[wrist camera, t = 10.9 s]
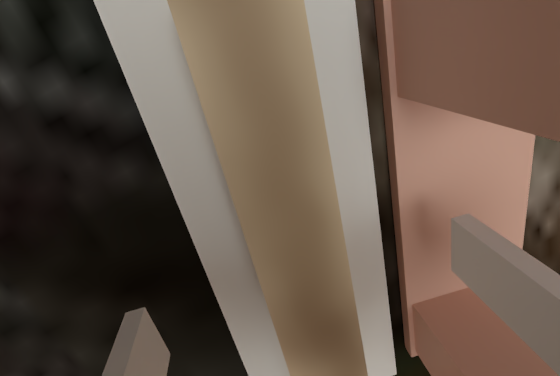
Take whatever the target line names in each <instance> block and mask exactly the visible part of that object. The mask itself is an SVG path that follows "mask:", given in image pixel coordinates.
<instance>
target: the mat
mask: <svg viewBox="0 0 560 376" xmlns="http://www.w3.org/2000/svg"><path fill="white" fill-rule="evenodd" d="M93 1H94V3H95V5H96V8H97V10H98V13H99V15H100V18H101V20H102V22H103V25H104V27H105V30H106V32H107V35H108V37H109V39H110V42H111V44H112V47H113V49H114V51H115V54H116V56H117V59H118V61H119V64H120V66H121V68H122V71H123V73H124V76H125V78H126V81H127V83H128V85H129V88H130V90H131V93H132V95H133V97H134V100H135V102H136V105H137V107H138V110H139V112H140V114H141V117H142V119H143V122H144V124H145V126H146V129H147V131H148V134H149V136H150V139H151V141H152V143H153V146H154V148H155V151H156V153H157V156H158V158H159V160H160V163H161V165H162V168H163V170H164V172H165V175H166V177H167V180H168V182H169V185H170V187H171V189H172V192H173V194H174V197H175V199H176V202H177V204H178V206H179V209H180V211H181V214H182V216H183V218H184V221H185V223H186V226H187V228H188V231H189V233H190V235H191V238H192V240H193V243H194V245H195V247H196V250H197V252H198V255H199V257H200V260H201V262H202V264H203V267H204V269H205V272H206V274H207V277H208V279H209V281H210V284H211V286H212V289H213V291H214V293H215V296H216V298H217V301H218V303H219V306H220V308H221V310H222V313H223V315H224V318H225V320H226V323H227V325H228V327H229V330H230V332H231V335H232V337H233V339H234V342H235V344H236V347H237V349H238V352H239V354H240V356H241V359H242V361H243V364H244V366H245V368H246V371H247V373H248V376H290V373H289V370H288V367H287V364H286V361H285V358H284V355H283V352H282V349H281V346H280V343H279V340H278V337H277V334H276V331H275V328H274V325H273V322H272V319H271V316H270V313H269V310H268V307H267V303H266V300H265V297H264V294H263V291H262V288H261V285H260V282H259V279H258V276H257V273H256V270H255V267H254V264H253V261H252V258H251V255H250V252H249V249H248V246H247V243H246V240H245V236H244V233H243V230H242V227H241V224H240V221H239V218H238V215H237V212H236V209H235V206H234V203H233V200H232V197H231V194H230V191H229V188H228V185H227V182H226V179H225V176H224V173H223V169H222V166H221V163H220V160H219V157H218V154H217V151H216V148H215V145H214V142H213V139H212V136H211V133H210V130H209V127H208V124H207V121H206V118H205V115H204V112H203V109H202V106H201V102H200V99H199V96H198V93H197V90H196V87H195V84H194V81H193V78H192V75H191V72H190V69H189V66H188V63H187V60H186V57H185V54H184V51H183V48H182V45H181V42H180V39H179V36H178V32H177V29H176V26H175V23H174V20H173V17H172V14H171V11H170V8H169V5H168V2H167V0H93ZM304 3H305V9H306V15H307V21H308V27H309V33H310V39H311V44H312V50H313V56H314V62H315V68H316V74H317V80H318V86H319V91H320V97H321V103H322V109H323V115H324V121H325V127H326V132H327V138H328V144H329V150H330V156H331V162H332V168H333V173H334V179H335V185H336V191H337V197H338V203H339V209H340V215H341V220H342V226H343V232H344V238H345V244H346V250H347V256H348V261H349V267H350V273H351V279H352V285H353V291H354V297H355V302H356V308H357V314H358V320H359V326H360V332H361V338H362V344H363V349H364V355H365V361H366V367H367V373H368V376H393V375H396V374H397V372H396V363H395V354H394V345H393V336H392V327H391V318H390V310H389V301H388V292H387V283H386V274H385V265H384V256H383V247H382V238H381V229H380V220H379V211H378V202H377V193H376V184H375V175H374V167H373V158H372V149H371V140H370V131H369V122H368V113H367V104H366V95H365V86H364V77H363V68H362V59H361V50H360V41H359V32H358V23H357V15H356V6H355V0H304Z"/></svg>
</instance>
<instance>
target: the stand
mask: <svg viewBox="0 0 560 376" xmlns="http://www.w3.org/2000/svg"><path fill="white" fill-rule="evenodd" d="M374 7H375V18H376V29H377V40H378V52H379V63H380V74H381V85H382V96H383V107H384V118H385V129H386V140H387V152H388V163H389V174H390V185H391V196H392V207H393V218H394V229H395V240H396V252H397V263H398V274H399V285H400V296H401V307H402V318H403V329H404V340H405V348H406V349H407V351H408V353H409V354H410V356H411V357H414V356H418V355H419V357H420V359H421V360H422V362H423V363H424V365H425V367H426V368H427V370H428V371H429V373H430V374H431V376H559V375H558V374H557V373H556V372H555V371H554V370H553V369H552V368H551V367H550V366H548V365H547V364H546V363H545V362H544V361H543V360H542V359H541V358H540V357H539V356H538V355H537V354H536V353H535V352H534V351H533V350H532V349H531V348H530V347H529V346H528V345H527V344H526V343H525V342H524V341H523V340H522V339H521V338H520V337H519V336H518V335H517V334H516V333H515V332H514V331H513V330H512V329H511V328H510V327H509V326H508V325H507V324H506V323H505V322H504V321H503V320H502V319H501V318H500V317H498V316H497V315H496V314H495V313H494V312H493V311H492V310H491V309H490V308H489V307H488V306H487V305H486V304H485V303H484V302H483V301H482V300H481V299H480V298H479V297H478V296H477V295H476V294H475V293H474V292H473V291H472V290H471V289H470V288H469V287H468V286H467V285H466V284H465V283H464V282H463V281H462V280H461V279H460V278H459V277H458V276H457V275H456V274H455V273H454V272H453V271H452V270H451V218H454V217H458V216H461V215H464V214H468V213H469V214H470V215H472V216H473V217H475V218H476V219H478V220H479V221H481V222H482V223H484V224H485V225H487V226H488V227H489V228H491V229H492V230H494V231H495V232H497V233H498V234H500V235H501V236H503V237H504V238H506V239H507V240H509V241H510V242H512V243H513V244H515V245H516V246H518V247H519V248H521V249H522V248H523V239H524V230H525V221H526V213H527V204H528V195H529V186H530V177H531V169H532V160H533V151H534V142H535V135H537V136H541V137H544V138H548V139H551V140H555V141H559V142H560V0H374Z"/></svg>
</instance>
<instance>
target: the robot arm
mask: <svg viewBox="0 0 560 376" xmlns="http://www.w3.org/2000/svg"><path fill="white" fill-rule="evenodd" d="M451 270H452V271H453V272H454V273H455V274H456V275H457V276H458V277H459V278H460V279H461V280H462V281H463V282H464V283H465V284H466V285H467V286H468V287H469V288H470V289H471V290H472V291H473V292H474V293H475V294H476V295H477V296H478V297H479V298H480V299H481V300H482V301H483V302H484V303H485V304H486V305H487V306H488V307H489V308H490V309H491V310H492V311H493V312H494V313H495V314H496V315H497V316H498V317H500V318H501V319H502V320H503V321H504V322H505V323H506V324H507V325H508V326H509V327H510V328H511V329H512V330H513V331H514V332H515V333H516V334H517V335H518V336H519V337H520V338H521V339H522V340H523V341H524V342H525V343H526V344H527V345H528V346H529V347H530V348H531V349H532V350H533V351H534V352H535V353H536V354H537V355H538V356H539V357H540V358H541V359H542V360H543V361H544V362H545V363H546V364H547V365H548V366H550V367H551V368H552V369H553V370H554V371H555V372H556V373H557V374H558V375H559V376H560V274H557V273H556V272H555V271H553V270H552V269H550V268H549V267H547V266H546V265H544V264H543V263H541V262H540V261H538V260H537V259H535V258H534V257H532V256H531V255H529V254H528V253H526V252H525V251H523V250H522V249H521V248H519V247H518V246H516V245H515V244H513V243H512V242H510V241H509V240H507V239H506V238H504V237H503V236H501V235H500V234H498V233H497V232H495V231H494V230H492V229H491V228H489V227H488V226H487V225H485V224H484V223H482V222H481V221H479V220H478V219H476V218H475V217H473V216H472V215H470V214H469V213H468V214H464V215H461V216H458V217H454V218H451ZM169 359H170V352H169V350H168V349H167V347H166V345H165V343H164V341H163V339H162V338H161V336H160V334H159V332H158V330H157V328H156V327H155V325H154V323H153V321H152V319H151V317H150V316H149V314H148V312H147V310H146V308H145V307H143V308H140V309H136V310H133V311H129V312H126V313H125V315H124V318H123V321H122V323H121V326H120V329H119V331H118V334H117V337H116V339H115V342H114V345H113V347H112V350H111V353H110V355H109V358H108V361H107V363H106V366H105V369H104V371H103V374H102V376H167V370H168V365H169Z"/></svg>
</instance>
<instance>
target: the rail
mask: <svg viewBox="0 0 560 376" xmlns="http://www.w3.org/2000/svg"><path fill="white" fill-rule="evenodd" d="M167 2H168V5H169V8H170V11H171V14H172V17H173V20H174V23H175V26H176V29H177V32H178V36H179V39H180V42H181V45H182V48H183V51H184V54H185V57H186V60H187V63H188V66H189V69H190V72H191V75H192V78H193V81H194V84H195V87H196V90H197V93H198V96H199V99H200V102H201V106H202V109H203V112H204V115H205V118H206V121H207V124H208V127H209V130H210V133H211V136H212V139H213V142H214V145H215V148H216V151H217V154H218V157H219V160H220V163H221V166H222V169H223V173H224V176H225V179H226V182H227V185H228V188H229V191H230V194H231V197H232V200H233V203H234V206H235V209H236V212H237V215H238V218H239V221H240V224H241V227H242V230H243V233H244V236H245V240H246V243H247V246H248V249H249V252H250V255H251V258H252V261H253V264H254V267H255V270H256V273H257V276H258V279H259V282H260V285H261V288H262V291H263V294H264V297H265V300H266V303H267V307H268V310H269V313H270V316H271V319H272V322H273V325H274V328H275V331H276V334H277V337H278V340H279V343H280V346H281V349H282V352H283V355H284V358H285V361H286V364H287V367H288V370H289V373H290V376H368V373H367V367H366V361H365V355H364V349H363V344H362V338H361V332H360V326H359V320H358V314H357V308H356V302H355V297H354V291H353V285H352V279H351V273H350V267H349V261H348V256H347V250H346V244H345V238H344V232H343V226H342V220H341V215H340V209H339V203H338V197H337V191H336V185H335V179H334V173H333V168H332V162H331V156H330V150H329V144H328V138H327V132H326V127H325V121H324V115H323V109H322V103H321V97H320V91H319V86H318V80H317V74H316V68H315V62H314V56H313V50H312V44H311V39H310V33H309V27H308V21H307V15H306V9H305V3H304V0H167Z"/></svg>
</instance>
